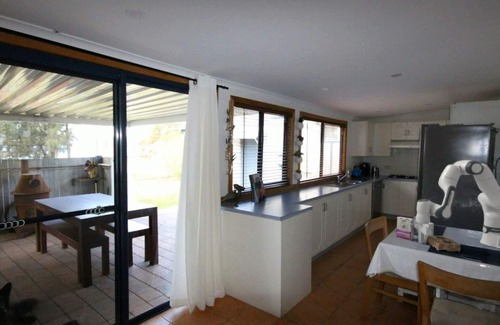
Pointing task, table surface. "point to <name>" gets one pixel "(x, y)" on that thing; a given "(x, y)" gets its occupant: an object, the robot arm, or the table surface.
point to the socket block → (443, 243)
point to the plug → (421, 237)
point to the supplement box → (432, 228)
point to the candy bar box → (405, 228)
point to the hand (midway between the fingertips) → (422, 237)
